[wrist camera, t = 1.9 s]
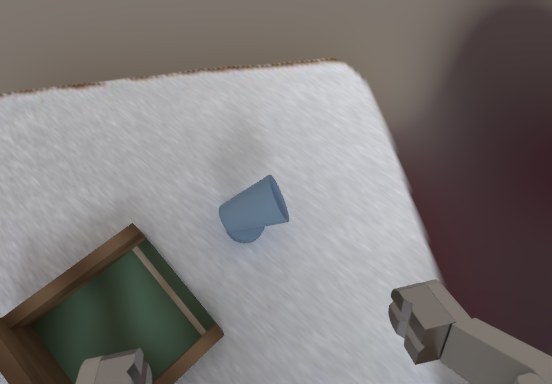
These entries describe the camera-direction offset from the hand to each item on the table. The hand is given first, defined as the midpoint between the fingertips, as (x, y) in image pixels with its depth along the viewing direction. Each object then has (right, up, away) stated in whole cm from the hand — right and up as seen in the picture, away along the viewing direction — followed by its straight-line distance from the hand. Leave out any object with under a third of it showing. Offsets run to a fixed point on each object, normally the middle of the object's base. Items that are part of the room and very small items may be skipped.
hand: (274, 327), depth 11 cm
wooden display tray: (-15, -9, +22) cm, 29 cm away
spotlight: (-3, +1, +28) cm, 28 cm away
